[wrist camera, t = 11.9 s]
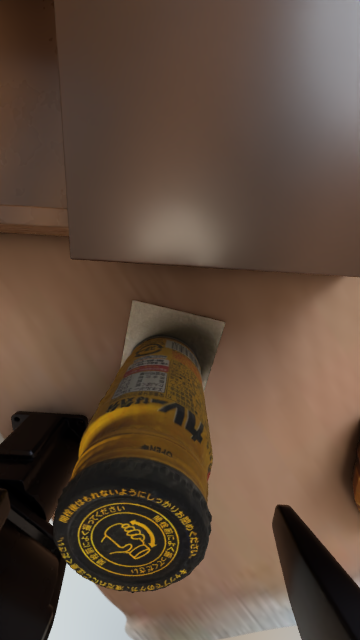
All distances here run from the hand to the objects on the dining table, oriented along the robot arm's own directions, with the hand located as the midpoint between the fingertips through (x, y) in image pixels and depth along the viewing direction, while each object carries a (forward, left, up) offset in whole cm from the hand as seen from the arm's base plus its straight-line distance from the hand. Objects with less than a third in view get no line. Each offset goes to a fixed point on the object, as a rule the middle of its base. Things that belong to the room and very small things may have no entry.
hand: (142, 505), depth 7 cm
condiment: (0, 0, -12) cm, 12 cm away
